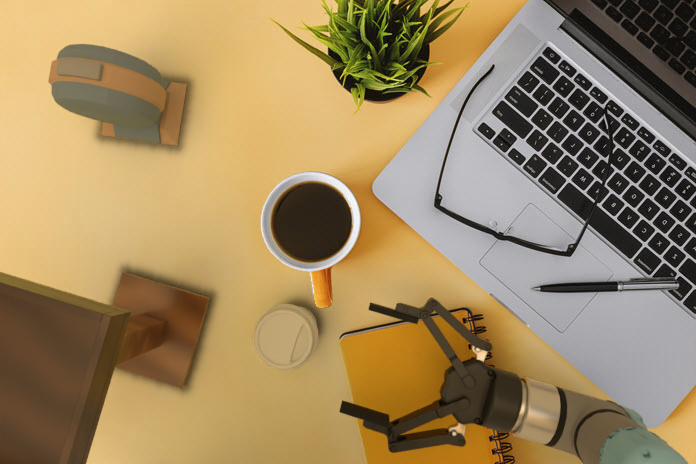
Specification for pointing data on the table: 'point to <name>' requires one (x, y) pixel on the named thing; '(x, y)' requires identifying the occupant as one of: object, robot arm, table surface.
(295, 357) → the coffee cup
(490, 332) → the table surface
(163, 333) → the tray stand
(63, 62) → the alarm clock
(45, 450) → the serving tray
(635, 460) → the robot arm
